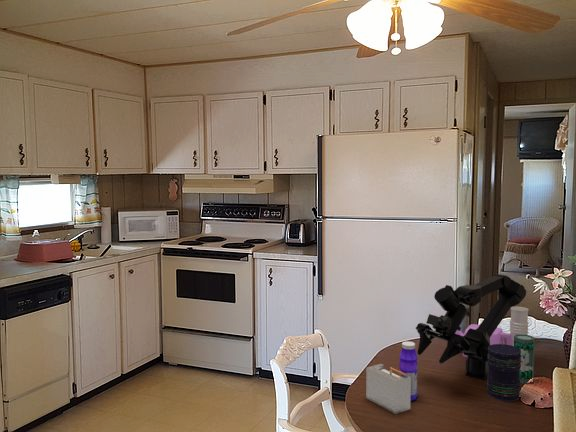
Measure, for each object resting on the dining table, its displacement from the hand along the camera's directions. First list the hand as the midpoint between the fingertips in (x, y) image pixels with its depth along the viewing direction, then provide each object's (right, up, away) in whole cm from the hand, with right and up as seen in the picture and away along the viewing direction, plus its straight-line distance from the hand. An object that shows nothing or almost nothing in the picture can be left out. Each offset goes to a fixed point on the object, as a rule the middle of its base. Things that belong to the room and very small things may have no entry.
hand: (428, 358), depth 174 cm
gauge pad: (-13, -11, -8) cm, 19 cm away
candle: (+48, -7, +45) cm, 66 cm away
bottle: (-8, -11, -4) cm, 14 cm away
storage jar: (+23, -11, -3) cm, 26 cm away
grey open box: (-15, -12, -9) cm, 21 cm away
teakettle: (+29, -8, +33) cm, 44 cm away
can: (+34, -10, +9) cm, 37 cm away
